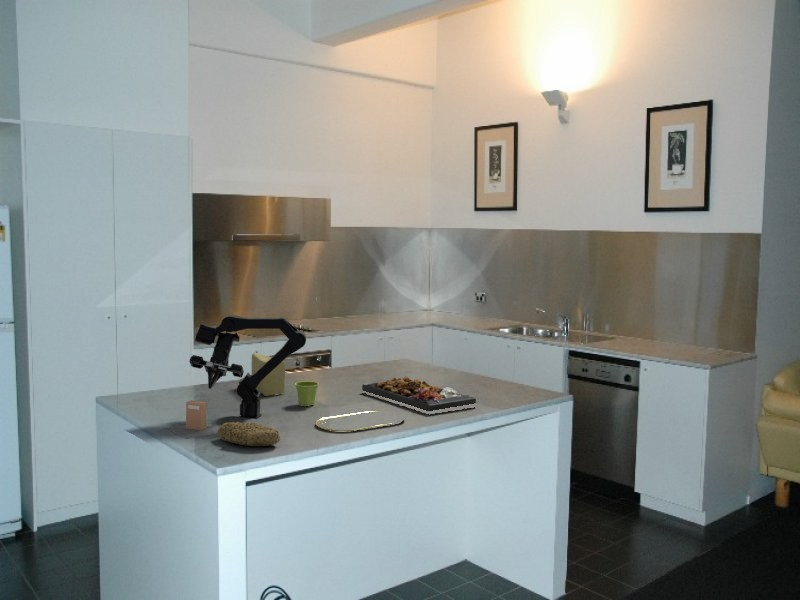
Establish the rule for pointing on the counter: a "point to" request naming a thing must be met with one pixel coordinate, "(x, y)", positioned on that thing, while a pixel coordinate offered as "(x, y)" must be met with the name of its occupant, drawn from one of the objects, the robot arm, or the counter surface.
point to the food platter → (418, 394)
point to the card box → (196, 415)
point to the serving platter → (344, 416)
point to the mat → (191, 431)
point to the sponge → (248, 434)
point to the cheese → (269, 376)
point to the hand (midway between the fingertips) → (209, 388)
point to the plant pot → (306, 392)
